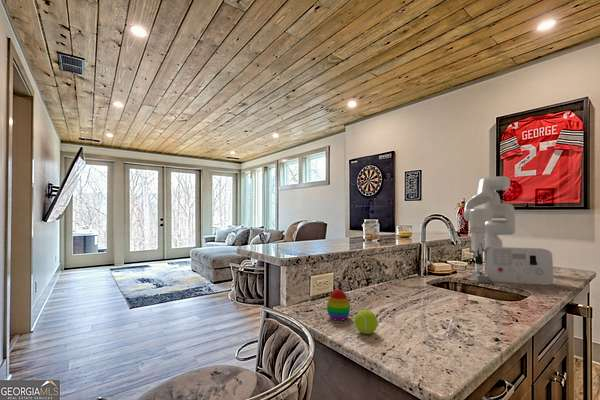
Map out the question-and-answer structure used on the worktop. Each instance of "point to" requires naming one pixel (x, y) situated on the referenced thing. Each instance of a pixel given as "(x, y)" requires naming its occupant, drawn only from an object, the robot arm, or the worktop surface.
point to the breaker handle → (477, 267)
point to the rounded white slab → (519, 265)
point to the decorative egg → (338, 305)
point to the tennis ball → (366, 321)
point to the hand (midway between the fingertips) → (478, 263)
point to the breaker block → (480, 276)
